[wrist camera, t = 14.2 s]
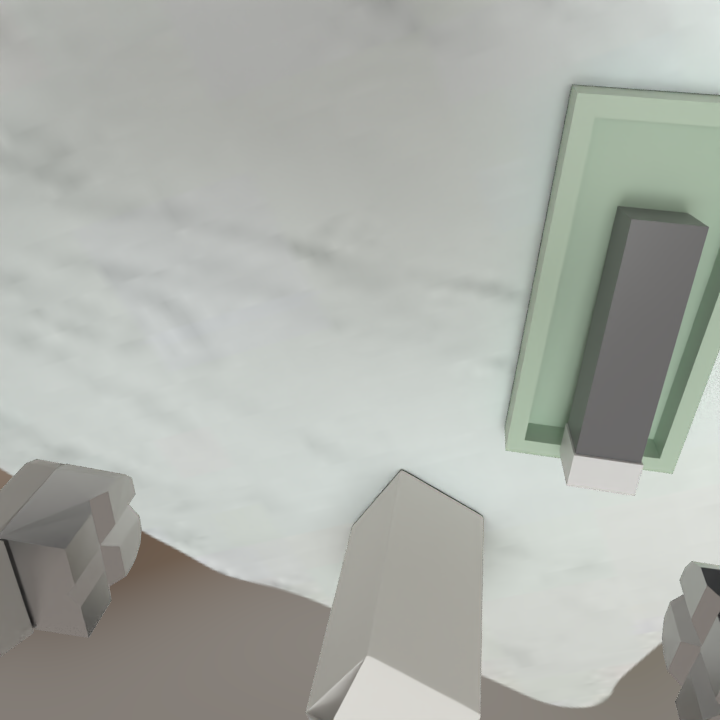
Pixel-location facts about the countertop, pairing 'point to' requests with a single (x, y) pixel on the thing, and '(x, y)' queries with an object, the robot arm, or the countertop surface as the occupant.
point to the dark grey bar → (630, 346)
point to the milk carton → (405, 613)
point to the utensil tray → (589, 248)
